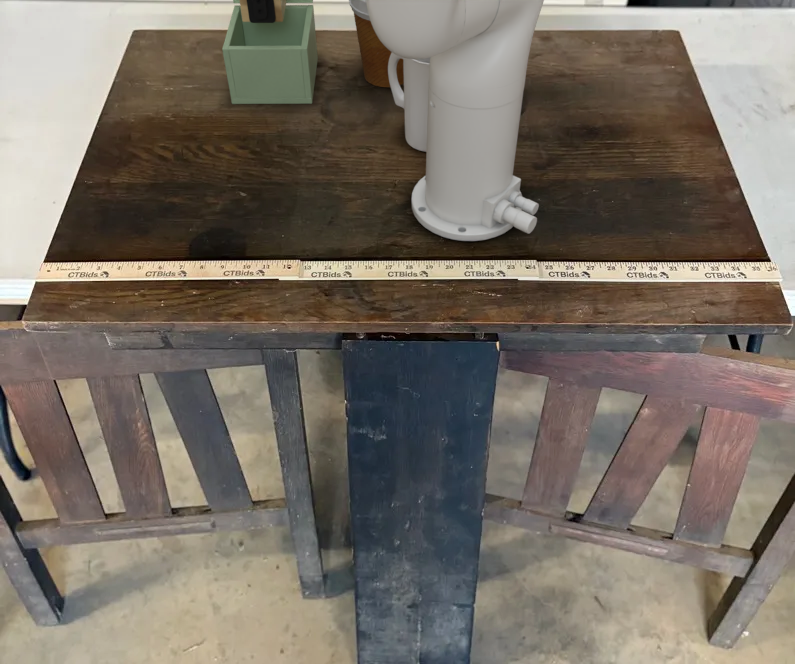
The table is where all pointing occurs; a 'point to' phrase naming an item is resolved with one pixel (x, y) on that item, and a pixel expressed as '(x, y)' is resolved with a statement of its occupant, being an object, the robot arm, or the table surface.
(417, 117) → the mug
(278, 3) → the block
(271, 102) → the chest
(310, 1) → the lid
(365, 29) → the disposable coffee cup
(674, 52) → the table surface
